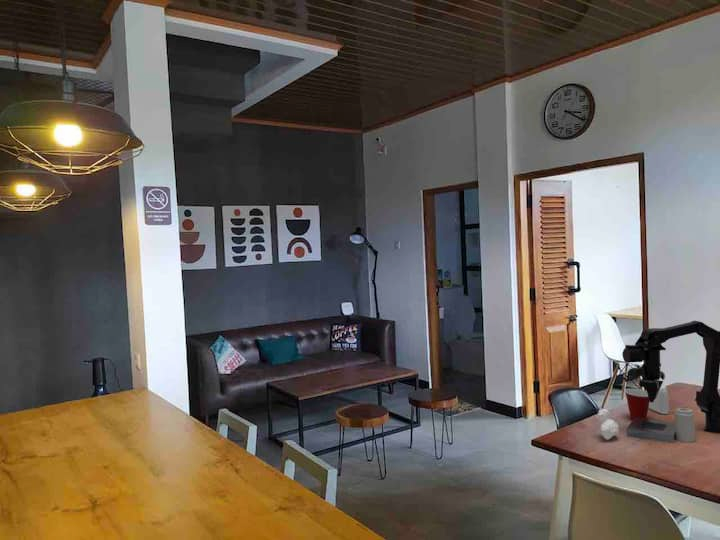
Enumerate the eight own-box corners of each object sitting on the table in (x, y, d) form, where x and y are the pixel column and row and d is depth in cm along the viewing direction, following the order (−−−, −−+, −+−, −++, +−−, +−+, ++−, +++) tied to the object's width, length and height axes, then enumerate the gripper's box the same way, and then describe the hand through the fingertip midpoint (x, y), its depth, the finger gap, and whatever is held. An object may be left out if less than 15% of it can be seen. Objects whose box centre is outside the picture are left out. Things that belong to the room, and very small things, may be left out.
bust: (615, 444, 204) (615, 415, 204) (594, 441, 209) (593, 412, 208) (621, 435, 214) (620, 406, 214) (600, 431, 219) (600, 404, 218)
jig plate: (635, 424, 226) (635, 417, 225) (679, 431, 216) (679, 423, 216) (626, 435, 213) (626, 428, 213) (673, 443, 203) (673, 435, 203)
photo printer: (647, 408, 247) (646, 380, 246) (656, 407, 247) (655, 380, 246) (661, 414, 236) (660, 386, 236) (670, 414, 237) (670, 386, 236)
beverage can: (693, 439, 208) (692, 408, 207) (696, 444, 202) (695, 412, 202) (674, 437, 210) (673, 406, 210) (676, 443, 205) (675, 411, 204)
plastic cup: (652, 424, 224) (652, 395, 224) (623, 421, 230) (622, 393, 230) (654, 417, 234) (653, 389, 233) (626, 413, 239) (625, 386, 239)
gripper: (634, 355, 225) (634, 392, 226) (624, 364, 211) (625, 403, 211) (664, 357, 219) (665, 396, 219) (656, 366, 204) (657, 408, 205)
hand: (652, 400), depth 214 cm, fingers open, 4 cm apart
